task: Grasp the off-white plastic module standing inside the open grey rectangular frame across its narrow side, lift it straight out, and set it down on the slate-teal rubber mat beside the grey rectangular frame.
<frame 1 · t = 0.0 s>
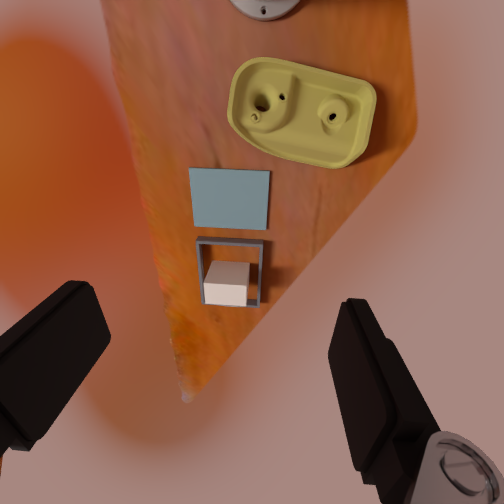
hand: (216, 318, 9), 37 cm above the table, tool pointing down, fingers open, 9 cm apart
plastic component: (298, 114, 38), on the table
module: (228, 282, 49), in the grey rectangular frame
mat: (229, 199, 45), on the table
grey rectangular frame: (231, 271, 53), on the table
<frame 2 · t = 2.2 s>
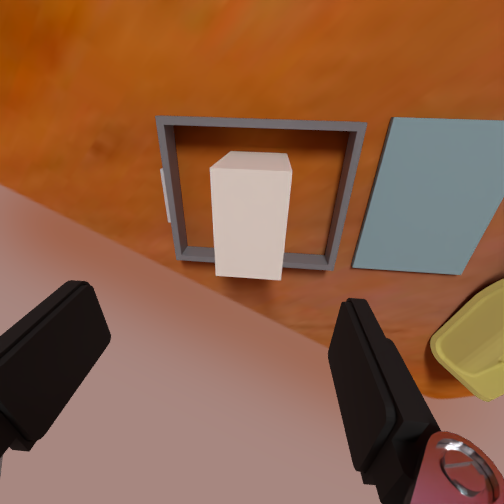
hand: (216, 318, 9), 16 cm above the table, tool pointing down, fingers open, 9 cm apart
module: (253, 210, 20), in the grey rectangular frame
mat: (429, 205, 23), on the table
grey rectangular frame: (257, 196, 23), on the table
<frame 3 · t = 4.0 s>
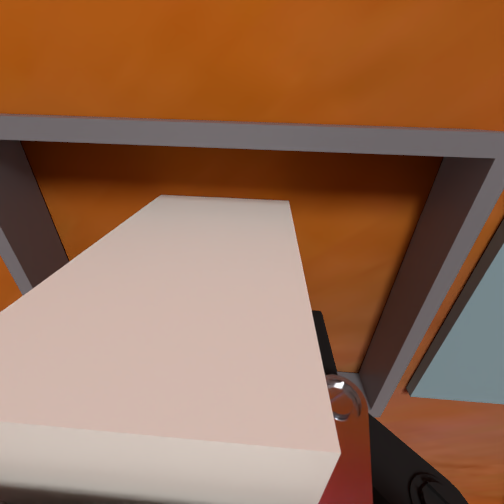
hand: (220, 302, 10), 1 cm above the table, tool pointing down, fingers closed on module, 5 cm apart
module: (207, 353, 8), in the grey rectangular frame, touching gripper
grey rectangular frame: (227, 281, 11), on the table
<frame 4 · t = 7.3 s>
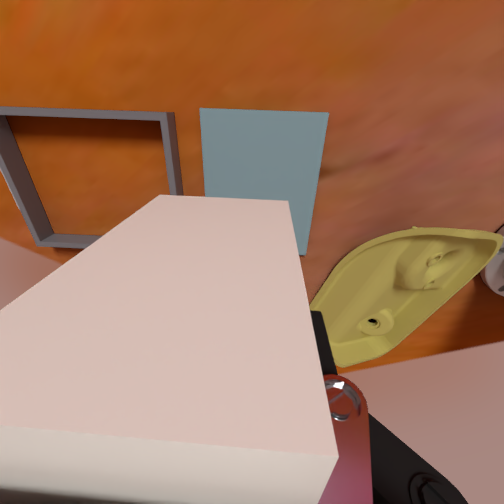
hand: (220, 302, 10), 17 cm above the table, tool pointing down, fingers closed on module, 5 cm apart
plastic component: (380, 278, 30), on the table
module: (206, 354, 8), point 19 cm above the table, touching gripper
mat: (260, 190, 25), on the table
grey rectangular frame: (103, 183, 25), on the table
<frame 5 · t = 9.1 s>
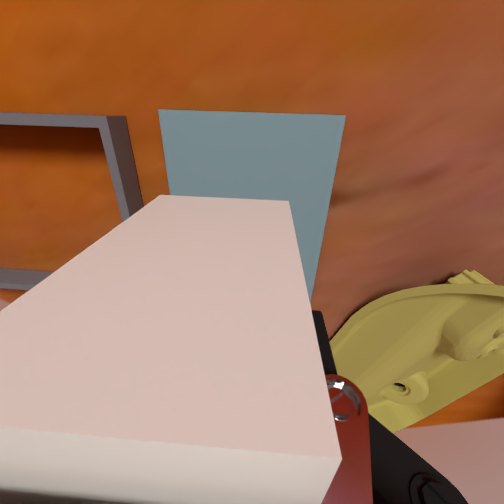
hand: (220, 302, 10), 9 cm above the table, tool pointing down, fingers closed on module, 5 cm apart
plastic component: (411, 329, 23), on the table
module: (206, 355, 8), point 12 cm above the table, touching gripper
mat: (248, 220, 18), on the table
grey rectangular frame: (44, 209, 19), on the table
when the fingers open (4 cm above the table, at t = 10.5 s): module drops 2 cm, resting on mat.
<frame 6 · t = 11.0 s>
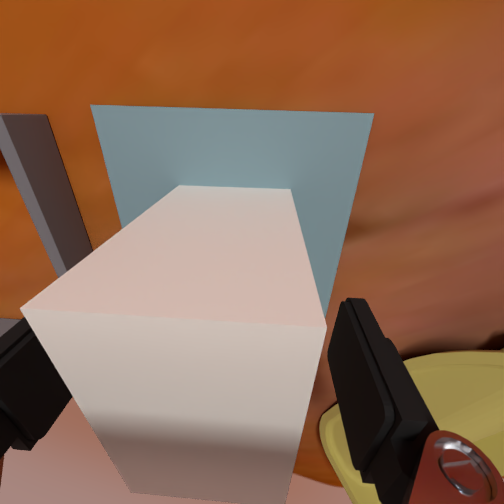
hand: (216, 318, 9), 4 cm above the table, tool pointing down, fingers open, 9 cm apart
plastic component: (450, 384, 18), on the table
module: (222, 318, 9), on the mat
mat: (232, 258, 13), on the table
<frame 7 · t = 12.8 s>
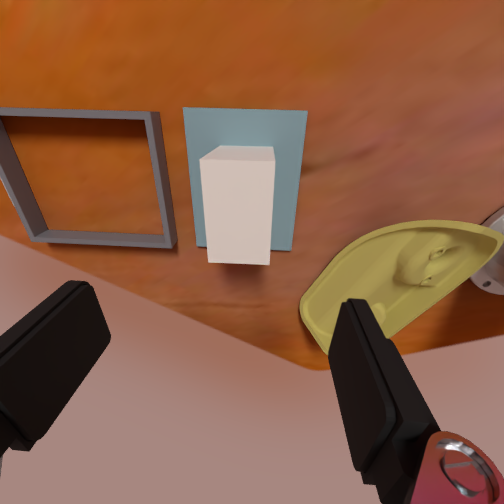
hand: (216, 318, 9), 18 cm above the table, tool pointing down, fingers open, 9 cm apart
plastic component: (377, 273, 30), on the table
module: (242, 200, 21), on the mat
mat: (244, 187, 25), on the table
grey rectangular frame: (94, 181, 26), on the table
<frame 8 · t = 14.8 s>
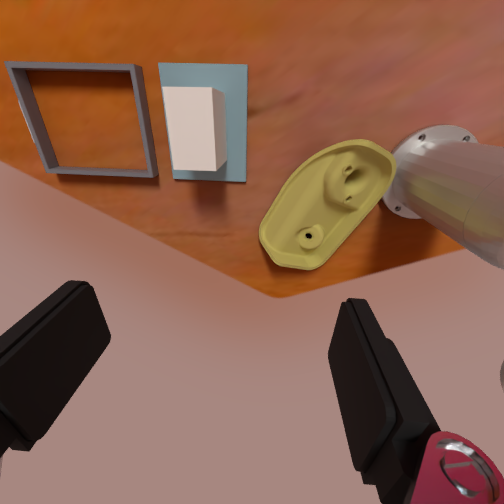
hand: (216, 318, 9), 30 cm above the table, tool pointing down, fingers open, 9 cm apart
plastic component: (319, 203, 38), on the table
module: (200, 129, 30), on the mat
mat: (207, 127, 33), on the table
grey rectangular frame: (94, 124, 34), on the table
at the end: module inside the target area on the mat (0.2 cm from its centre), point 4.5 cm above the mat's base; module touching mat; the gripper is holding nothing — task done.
